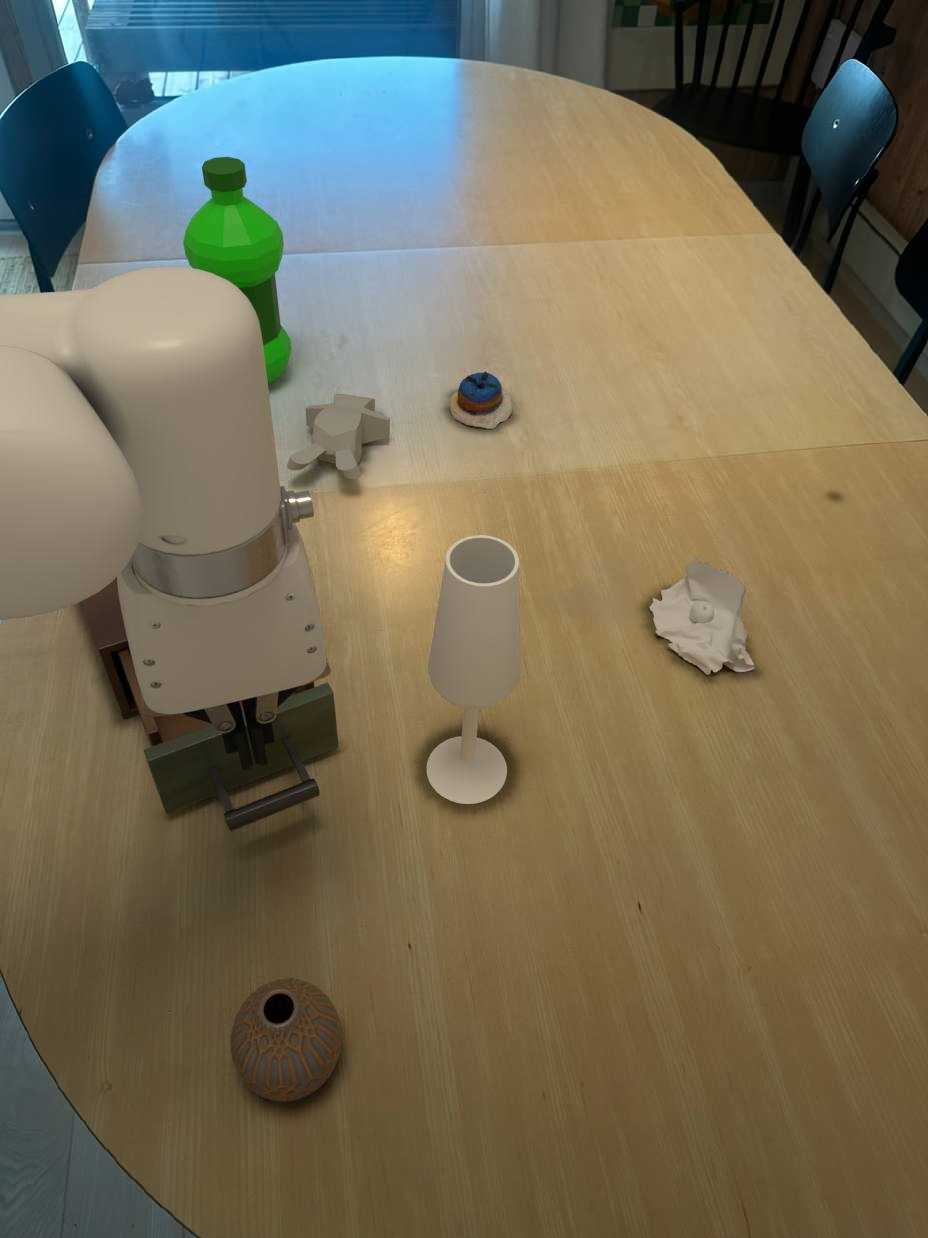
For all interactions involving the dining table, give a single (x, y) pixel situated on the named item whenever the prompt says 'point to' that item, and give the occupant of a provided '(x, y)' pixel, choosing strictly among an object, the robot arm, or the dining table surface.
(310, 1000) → the vase
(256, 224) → the plastic bottle
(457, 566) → the champagne flute
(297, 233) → the dining table surface
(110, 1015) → the dining table surface
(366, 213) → the dining table surface
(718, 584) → the fabric
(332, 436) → the bunny figurine
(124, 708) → the cabinet
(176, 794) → the drawer
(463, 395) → the dessert
